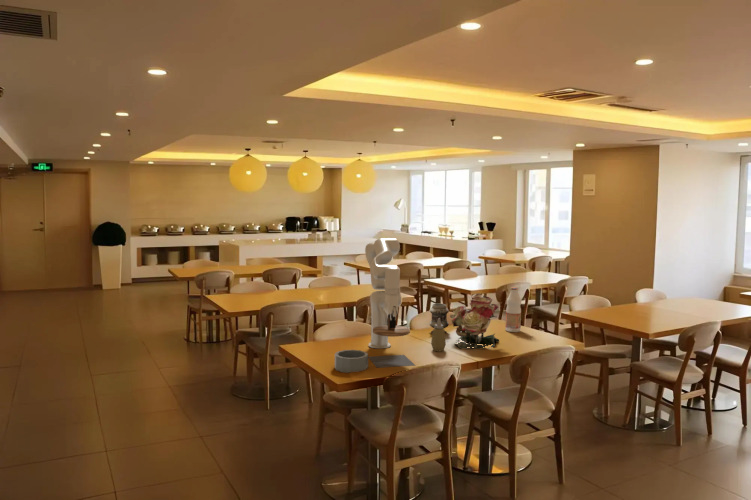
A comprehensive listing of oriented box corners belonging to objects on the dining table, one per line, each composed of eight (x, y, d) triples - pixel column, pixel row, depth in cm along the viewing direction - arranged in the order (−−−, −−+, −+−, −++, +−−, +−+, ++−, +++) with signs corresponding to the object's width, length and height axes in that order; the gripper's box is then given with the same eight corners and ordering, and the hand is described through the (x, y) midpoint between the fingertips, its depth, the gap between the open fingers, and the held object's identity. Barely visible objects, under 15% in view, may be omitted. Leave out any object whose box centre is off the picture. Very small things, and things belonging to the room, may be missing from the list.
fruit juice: (509, 332, 362) (510, 289, 359) (502, 329, 371) (504, 286, 369) (523, 332, 364) (524, 288, 362) (516, 328, 373) (517, 286, 371)
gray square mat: (367, 357, 301) (367, 356, 301) (404, 355, 305) (404, 354, 305) (376, 368, 281) (376, 367, 281) (415, 366, 286) (415, 365, 286)
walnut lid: (369, 328, 299) (369, 314, 298) (403, 326, 304) (404, 313, 303) (377, 337, 281) (378, 322, 280) (414, 335, 285) (415, 321, 285)
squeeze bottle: (432, 347, 322) (433, 316, 321) (446, 349, 320) (447, 317, 319) (429, 351, 315) (430, 319, 313) (444, 352, 312) (445, 320, 311)
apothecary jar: (438, 329, 368) (438, 302, 367) (452, 332, 359) (453, 304, 358) (425, 332, 360) (425, 304, 358) (439, 335, 351) (440, 307, 350)
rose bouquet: (450, 337, 346) (451, 289, 344) (499, 340, 341) (501, 291, 338) (447, 348, 321) (448, 296, 319) (500, 352, 316) (502, 298, 313)
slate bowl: (332, 364, 288) (332, 350, 287) (363, 362, 292) (363, 349, 291) (338, 373, 273) (338, 359, 272) (370, 371, 276) (370, 357, 276)
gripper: (380, 289, 297) (380, 323, 299) (389, 294, 281) (388, 331, 283) (394, 288, 299) (394, 323, 301) (403, 294, 283) (403, 330, 285)
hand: (391, 326), depth 292 cm, fingers closed on walnut lid, 3 cm apart
